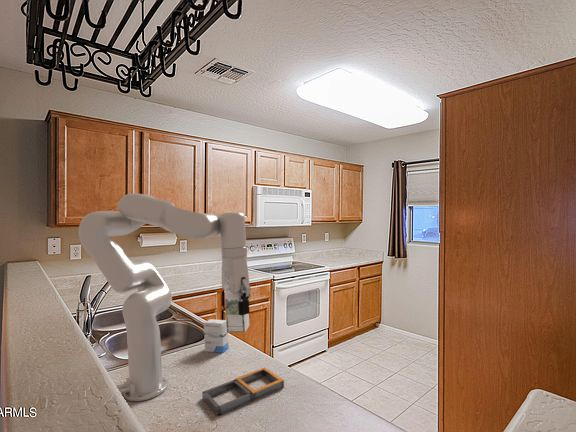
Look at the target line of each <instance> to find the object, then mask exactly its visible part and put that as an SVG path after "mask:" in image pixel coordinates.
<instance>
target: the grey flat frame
mask: <svg viewBox="0 0 576 432" xmlns="http://www.w3.org/2000/svg"><path fill="white" fill-rule="evenodd" d="M263 377H265V378H266V379H268V381H270V383H268V384H265V385H263V386H261V387H257V388H256V389H253V387H251V386H250V385H248V383H251V382H253V381H256V380H258V379H261V378H263ZM284 380H285V379H283V378H282V377H280V376H278V374H276V373H274V372H273V371H271V370H270V369H268V368H267V367H262V368H260V369H256V370H254V371H252V372H249V373H246V374H244V375H240V376H237V377H235V379H233V380H230V381H228V382H224V383H222V384H219V385H217V386H214V387H211V388H208V389H206V390H204V391H202V392H201V395H202V400H203V401H204V402H205V403H206V404H207V406H208V407H209V408H210V409H211V410H212V412H214V414H215V415H216V416H217V417H219V416H222V415H224V414H226V413H228V411H229V412H231V411H233V410H236V409H238V408H240V407H242V406H244V404H245V405H247V404H249V403H251V402H254V401H256V400H258V399H260V398H263V397H265V396H267V395H269V394H272V393H273V392H274V393H275V392H276V391H278V390H279V391H280V390H281V389H284V388H285V381H284ZM233 389H235V390H236V391H237V392H238V393H240V395H242V396H240V397H237V398H234V399H232V400H229V401H227V402H225V403H222V404H220V405H219V403H217V402H216V400H214V398H213V397H215V396H218V395H220V394H223V393H225V392H228V391H230V390H233ZM262 396H263V397H262ZM257 398H258V399H257ZM255 399H256V400H255ZM253 400H254V401H253ZM250 401H251V402H250ZM248 402H249V403H248ZM246 403H247V404H246ZM237 407H238V408H237ZM232 409H233V410H232ZM230 410H231V411H230Z"/></svg>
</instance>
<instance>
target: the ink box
mask: <svg viewBox="0 0 576 432" xmlns="http://www.w3.org/2000/svg"><path fill="white" fill-rule="evenodd" d="M203 337H204V352H209V353H211V352H212V353H221V354H224V353H225V352H226V351H228V349H229V348H230V347H229V332H227V325H226V319H225V320H224V319H213V318H209V319H208V320H206V321H204V322H203Z"/></svg>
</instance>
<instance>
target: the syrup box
mask: <svg viewBox="0 0 576 432" xmlns="http://www.w3.org/2000/svg"><path fill="white" fill-rule="evenodd" d="M223 290H224V302H225V303H224V304H225V306H224V307H225V320H226V325H227V332H228V333H246V331H248V329H249V327H250V316H249V315H250V313H249V314H245V315H239V308H238V301H239V298H238V294H237V293H235V294H234V293H231V292H230V288H229V284H227V283H225V284H224V289H223ZM240 290H244V287H243V286H242V284H241V287H240ZM242 295H243V292H242V293H241V296H242Z"/></svg>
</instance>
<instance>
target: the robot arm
mask: <svg viewBox="0 0 576 432" xmlns="http://www.w3.org/2000/svg"><path fill="white" fill-rule="evenodd" d="M117 208H118V211H117V210H97V211H92V212H90V213H88V214H85V216H84V217H83V218H82V219H81V221H80V223H79V225H78V239H79V242H80V244H81V246H82V247H83V249H84V250H85V251H86V253H87V254H88V256H90V258H91V259H93V261H94V262H95V264H96V267H98V269H99V271H100V272H101V273H102V275H103V277H104V278H105V279H106V281H107V282H108V284H109V285H110V287H111V289H113V291H115V292H116V293H119V294H125V293H128V292H132V291H134V290H137V291H135V292H133V293H132V294H130V295H129V296H128V297H127V298H126V299H125V300H124V301H123V304H122V312H121V313H122V316H123V320H124V324H125V329H126V343H127V345H126V346H127V359H128V360H127V361H128V377H126V381H124V382H123V383H121V384H117V385H115V386H117V388H118V389H119V391H120V392H121V394H123V397H124V398H125V399H126V400H127V401H129V402H141V401H146V400H151V399H153V398H156V397H158V396H159V395H161V394H163V393H164V392H165V391H166V390H167V389H168V385H169V384H168V380H167V378H165V377H163V367H162V365H163V363H162V346H161V345H162V344H161V343H162V342H161V331H160V326H159V324H158V322H157V321H158V320H157V319H156V318H157V317H156V316H158V315H159V314H162V313H163V312H165V311H166V310H167V309H169V308H170V306H171V304H172V302H173V295H172V292H171V290H170V288H169V286H168V285H167V283H166V281H165V280H164V279H163V277H162V275H160V273H159V272H158V270H157V269H156V267H155V266H154V264H152V263H151V262H149V261H148V260H145V259H134V260H131V259H130V258H129V257H128V256H127V255H126V253H125V251H124V250H123V248H122V247H121V245H119V244H118V243H116V242H115V241H114V240H112V239H111V237H123V236H126V235H129V234H131V233H133V232H134V231H137V230H138V229H141V227H143V226H145V225H150V226H153V227H158V228H162V229H163V230H165V231H168V232H169V233H171V234H176V235H178V236H182V237H187V238H190V239H195V240H205V239H213V238H215V237H216V238H217V237H220V247H221V248H220V249H221V259H222V261H221V288H222V290H224V284H225V283H227V284H229V288H230V292H231V293H234V294H235V293H237V294H238V298H239V301H238V308H239V315H245V314H249V315H250V297H251V291H252V287H251V286H250V278H249V277H250V276H249V268H248V262H247V258H248V251H247V250H248V249H247V248H248V247H247V235H246V234H247V233H246V232H247V231H246V217H245V214H244V213H242V212H237V211H236V212H225V213H221V214H220V213H207V212H206V213H205V212H202V213H201V212H200V213H199V212H196V211H191V210H187V209H183V208H179V207H177V206H175V204H174V202H171V201H169V200H164V199H161V198H157V197H155V196H153V195H151V194H147V193H146V194H144V193H136V192H135V193H133V192H132V193H128V194H125V195H123V196H121V198H120V199H119V201H118V203H117ZM241 284H242V286H243V287H244V290H240V287H241ZM242 292H243V295H242V296H241V293H242ZM121 394H120V395H121Z"/></svg>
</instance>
